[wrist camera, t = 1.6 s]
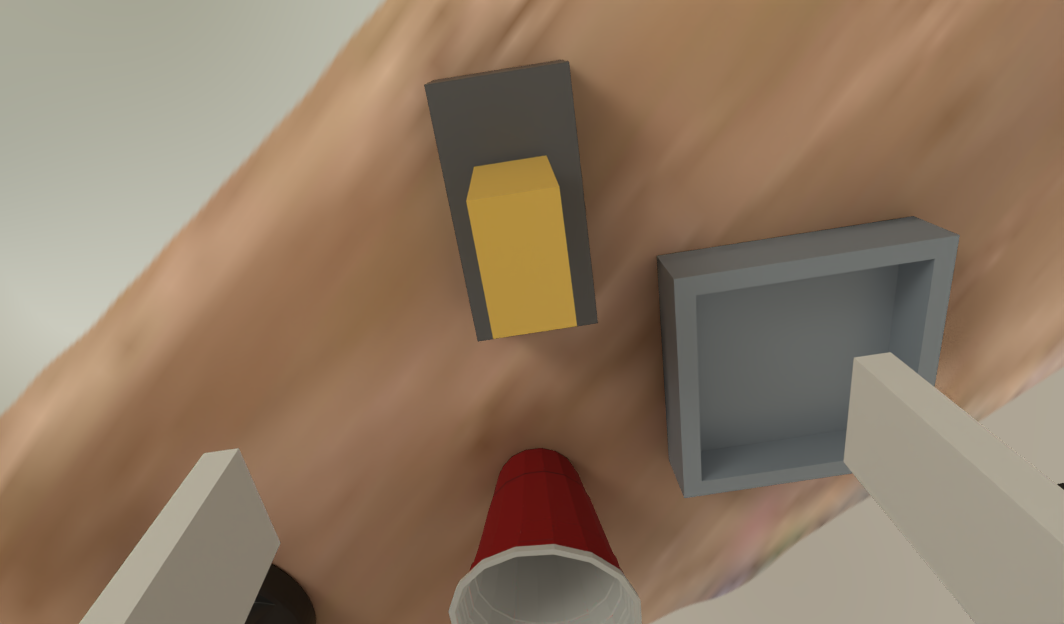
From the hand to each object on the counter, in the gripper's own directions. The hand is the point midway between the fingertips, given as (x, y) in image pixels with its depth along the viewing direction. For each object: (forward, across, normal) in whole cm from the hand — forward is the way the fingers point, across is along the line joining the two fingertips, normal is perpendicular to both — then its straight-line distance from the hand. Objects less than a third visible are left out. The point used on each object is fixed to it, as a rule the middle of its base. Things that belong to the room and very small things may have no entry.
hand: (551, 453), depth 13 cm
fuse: (+24, 0, 0) cm, 24 cm away
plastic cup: (+24, -2, -21) cm, 32 cm away
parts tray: (+24, +16, -13) cm, 32 cm away
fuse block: (+24, 0, 0) cm, 24 cm away
